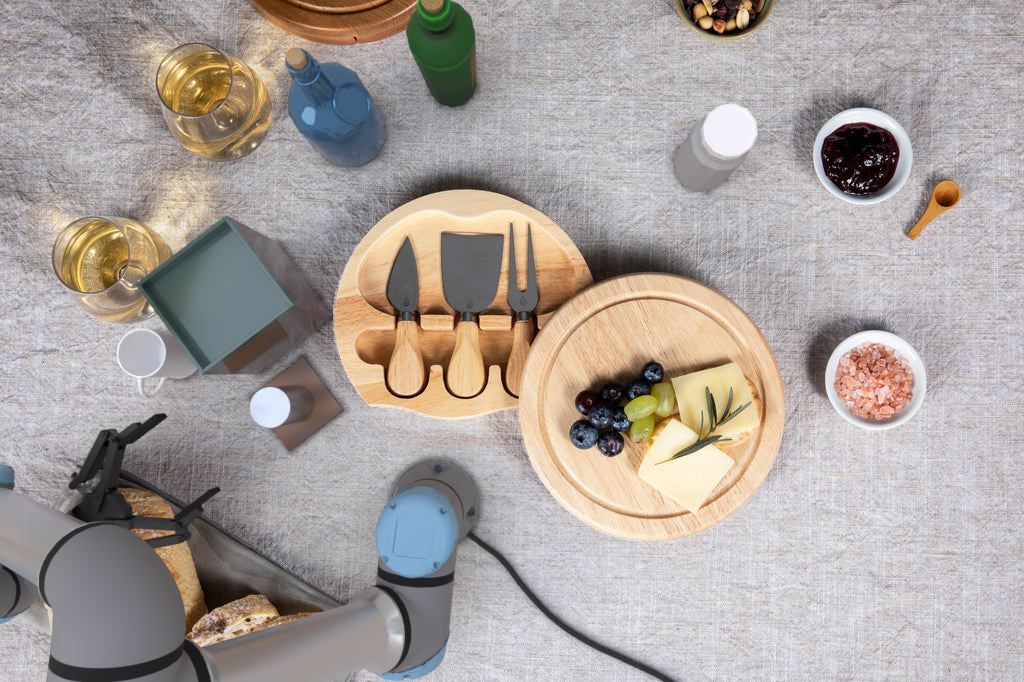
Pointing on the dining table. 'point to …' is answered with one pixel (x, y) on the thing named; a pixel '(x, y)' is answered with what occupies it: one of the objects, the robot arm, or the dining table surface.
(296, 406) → the can
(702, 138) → the jar
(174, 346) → the mug
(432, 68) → the bottle
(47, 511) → the robot arm
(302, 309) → the teal boxy piece
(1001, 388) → the dining table surface
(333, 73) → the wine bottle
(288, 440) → the brown coaster
